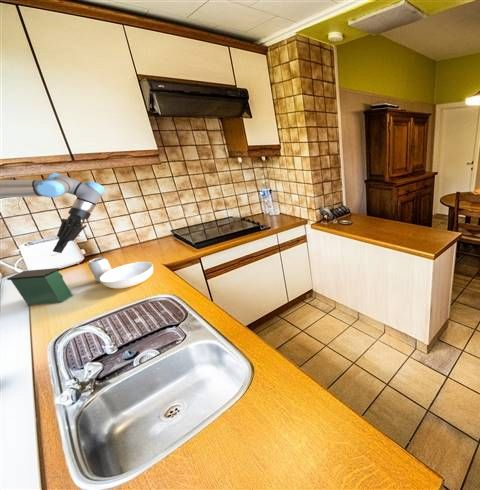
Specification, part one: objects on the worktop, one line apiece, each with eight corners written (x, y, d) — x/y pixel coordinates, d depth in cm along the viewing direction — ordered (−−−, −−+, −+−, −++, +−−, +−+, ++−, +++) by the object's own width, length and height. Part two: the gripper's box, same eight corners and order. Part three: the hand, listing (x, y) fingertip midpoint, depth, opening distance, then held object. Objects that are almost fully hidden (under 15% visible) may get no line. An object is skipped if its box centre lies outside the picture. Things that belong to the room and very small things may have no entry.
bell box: (25, 306, 121) (6, 278, 115) (41, 297, 128) (24, 270, 122) (60, 303, 122) (43, 275, 116) (74, 294, 129) (59, 267, 123)
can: (114, 274, 146) (104, 255, 141) (117, 278, 142) (107, 258, 137) (96, 280, 141) (85, 260, 136) (98, 284, 136) (87, 264, 132)
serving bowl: (104, 299, 123) (97, 286, 121) (107, 282, 138) (101, 270, 136) (158, 282, 135) (153, 271, 132) (155, 268, 150) (151, 257, 147)
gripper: (99, 215, 140) (75, 257, 135) (80, 210, 143) (56, 251, 137) (83, 209, 133) (57, 253, 127) (63, 204, 135) (37, 247, 130)
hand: (56, 252), depth 132 cm, fingers closed
